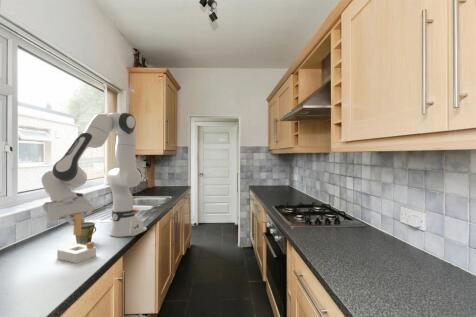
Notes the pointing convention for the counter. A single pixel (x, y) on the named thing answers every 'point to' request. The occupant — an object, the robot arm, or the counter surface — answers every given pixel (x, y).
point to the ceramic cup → (85, 233)
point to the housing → (77, 252)
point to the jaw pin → (77, 224)
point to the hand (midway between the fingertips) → (78, 223)
